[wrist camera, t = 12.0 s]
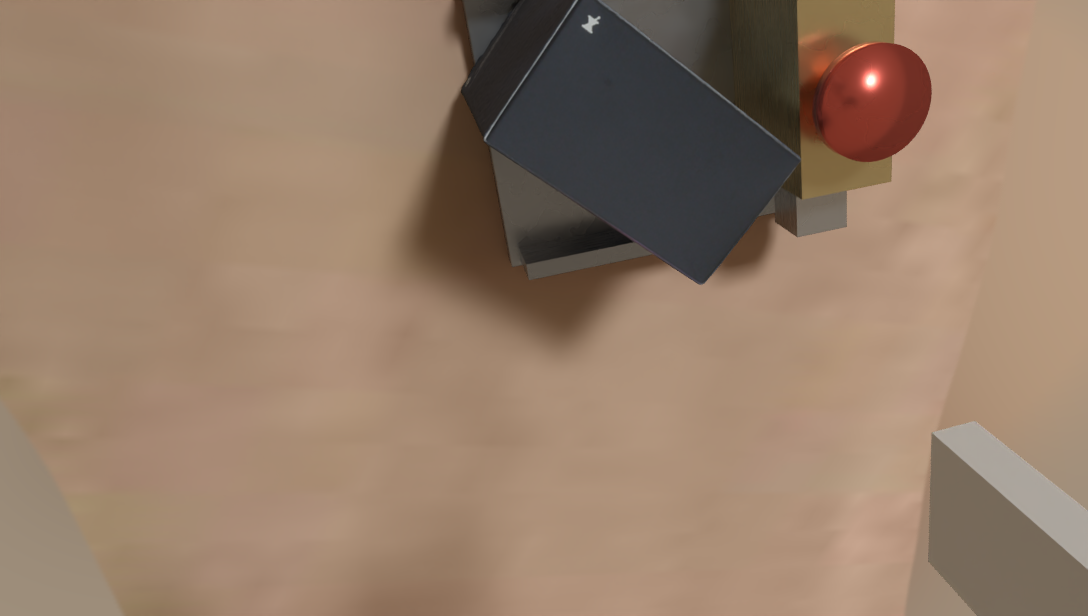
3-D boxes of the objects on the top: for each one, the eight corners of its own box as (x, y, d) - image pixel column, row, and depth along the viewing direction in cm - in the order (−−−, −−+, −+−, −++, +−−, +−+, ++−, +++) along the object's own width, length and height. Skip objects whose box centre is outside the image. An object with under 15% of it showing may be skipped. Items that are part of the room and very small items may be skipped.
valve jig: (509, 260, 42) (543, 346, 33) (455, -34, 36) (478, -32, 27) (810, 198, 44) (924, 263, 34) (803, -94, 38) (939, -111, 29)
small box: (451, 97, 38) (471, 144, 28) (532, -30, 36) (583, -25, 27) (630, 218, 41) (702, 296, 32) (710, 107, 40) (811, 154, 30)
